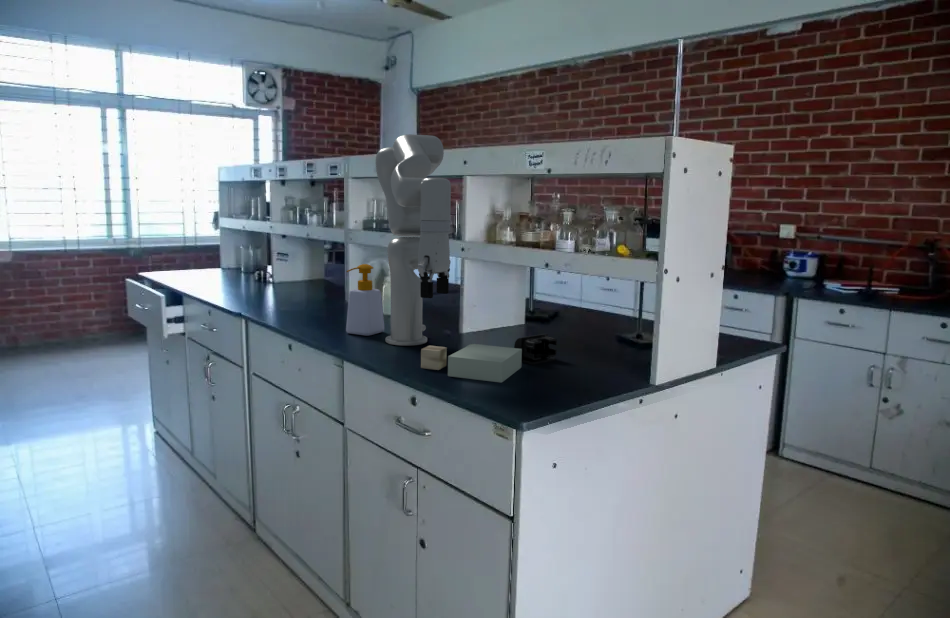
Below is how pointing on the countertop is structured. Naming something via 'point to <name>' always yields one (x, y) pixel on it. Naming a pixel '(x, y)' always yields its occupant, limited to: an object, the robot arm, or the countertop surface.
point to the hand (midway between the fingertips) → (434, 295)
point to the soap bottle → (364, 307)
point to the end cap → (536, 348)
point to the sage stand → (485, 362)
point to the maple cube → (433, 357)
